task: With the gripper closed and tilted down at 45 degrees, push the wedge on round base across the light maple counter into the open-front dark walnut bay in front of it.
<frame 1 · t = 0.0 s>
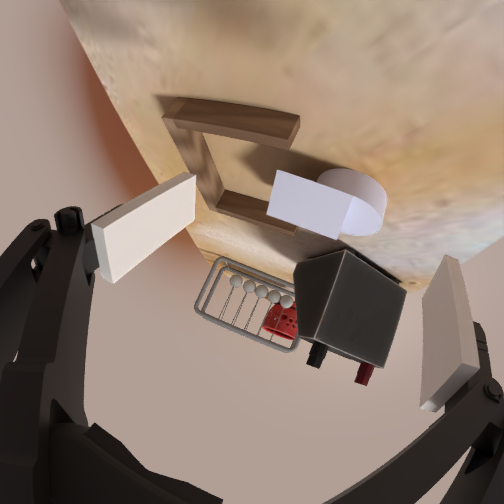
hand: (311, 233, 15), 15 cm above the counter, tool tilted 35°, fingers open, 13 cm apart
voltmeter: (352, 268, 57), on the counter
walnut bay: (253, 164, 39), on the counter
plant pot: (291, 302, 107), on the counter
wedge on round base: (336, 185, 36), on the counter
newton's cradle: (267, 277, 90), on the counter
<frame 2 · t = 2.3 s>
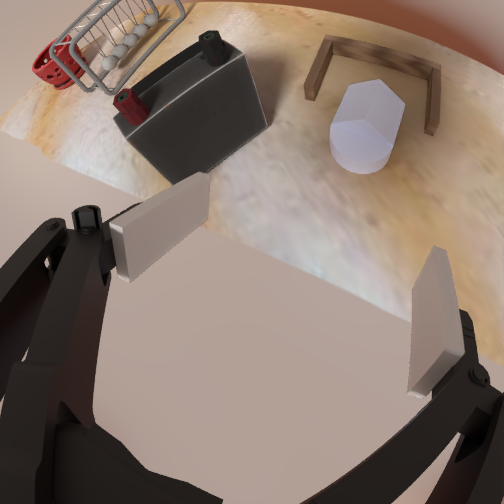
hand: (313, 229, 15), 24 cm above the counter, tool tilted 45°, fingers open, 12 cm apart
voltmeter: (199, 133, 47), on the counter
walnut bay: (376, 87, 42), on the counter
plant pot: (73, 76, 63), on the counter
wedge on round base: (363, 137, 41), on the counter
newton's cradle: (138, 52, 58), on the counter
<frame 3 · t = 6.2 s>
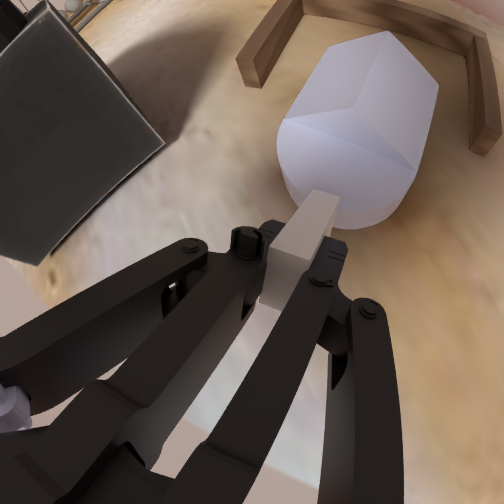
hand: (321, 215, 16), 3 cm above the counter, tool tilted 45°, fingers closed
voltmeter: (79, 159, 27), on the counter
walnut bay: (378, 63, 22), on the counter
wedge on round base: (355, 148, 21), on the counter
newton's cradle: (57, 46, 38), on the counter
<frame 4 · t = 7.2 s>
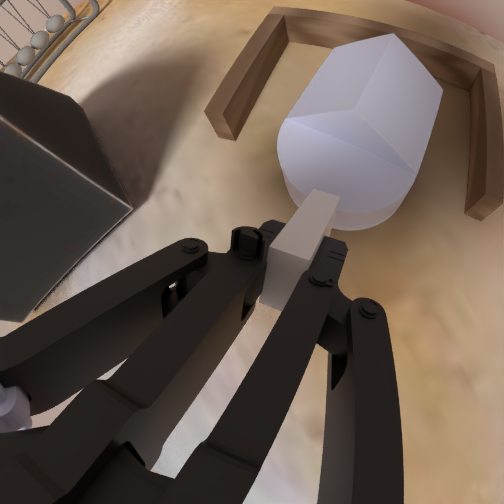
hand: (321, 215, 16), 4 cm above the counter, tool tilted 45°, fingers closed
voltmeter: (56, 211, 26), on the counter
walnut bay: (369, 105, 21), on the counter
wedge on round base: (357, 150, 21), on the counter, touching gripper
newton's cradle: (39, 69, 37), on the counter
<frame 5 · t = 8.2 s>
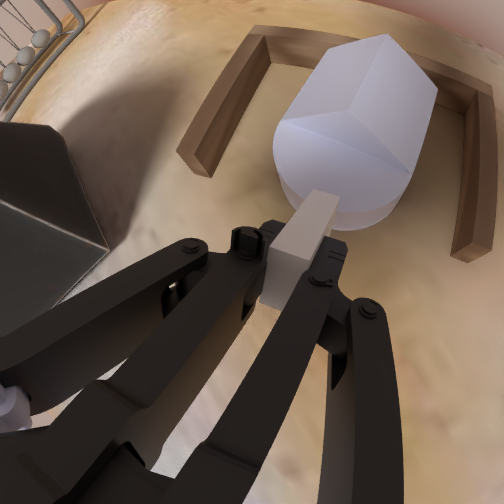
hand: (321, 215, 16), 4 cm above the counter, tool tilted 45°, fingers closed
voltmeter: (40, 243, 26), on the counter
walnut bay: (353, 136, 21), on the counter
wedge on round base: (352, 150, 21), on the counter, touching gripper
newton's cradle: (26, 85, 37), on the counter
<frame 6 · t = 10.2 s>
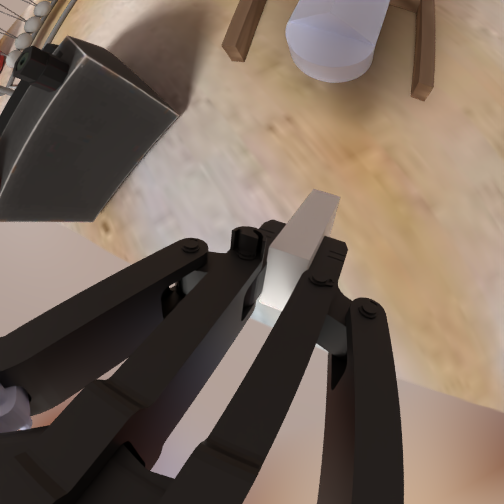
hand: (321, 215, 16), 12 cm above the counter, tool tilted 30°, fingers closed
voltmeter: (107, 133, 34), on the counter
walnut bay: (336, 29, 26), on the counter
wedge on round base: (337, 37, 27), on the counter
newton's cradle: (46, 32, 38), on the counter
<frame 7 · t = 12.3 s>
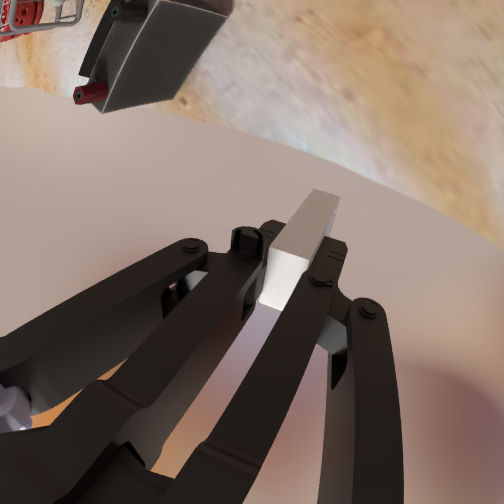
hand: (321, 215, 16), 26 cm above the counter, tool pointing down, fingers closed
voltmeter: (170, 35, 39), on the counter
plant pot: (35, 15, 45), on the counter
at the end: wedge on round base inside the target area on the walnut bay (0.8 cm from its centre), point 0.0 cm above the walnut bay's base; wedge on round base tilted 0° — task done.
